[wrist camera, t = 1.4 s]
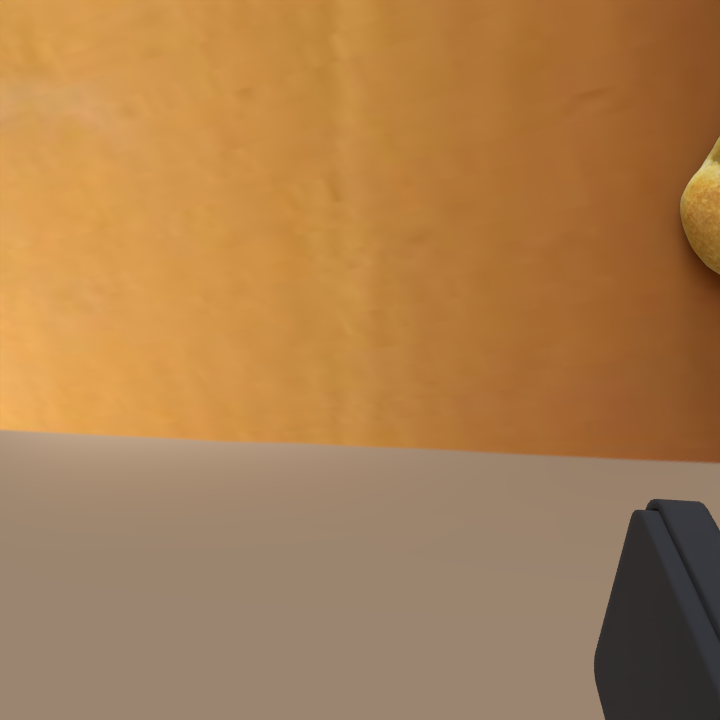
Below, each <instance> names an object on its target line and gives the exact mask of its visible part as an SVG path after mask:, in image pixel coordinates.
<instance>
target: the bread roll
mask: <svg viewBox="0 0 720 720" xmlns="http://www.w3.org/2000/svg"><path fill="white" fill-rule="evenodd" d="M680 215H681V221H682V225H683V228H684V231H685V233H686V236H687V238H688V241H689V243H690V245H691V247H692V248H693V250H694V251H695V253H696V254H697V255H698V256H699V258H700V259H701V260H702V261H703V262H704V264H705V265H706V266H708V267H709V268H710V269H712V270H713V271H715V272H717V273H718V274H720V136H719V138H718V140H717V141H716V143H715V145H714V147H713V149H712V151H711V152H710V154H709V155H708V157H707V158H706V160H705V162H704V163H703V165H702V167H701V168H700V169H699V170H698V171H697V172H696V173H695V175H694V176H693V178H692V179H691V180H690V182H689V183H688V185H687V187H686V189H685V191H684V193H683V195H682V198H681V201H680Z"/></svg>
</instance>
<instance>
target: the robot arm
mask: <svg viewBox="0 0 720 720" xmlns="http://www.w3.org/2000/svg"><path fill="white" fill-rule="evenodd" d="M594 673H595V681H596V686H597V689H598V693H599V697H600V701H601V705H602V709H603V713H604V716H605V720H720V530H719V529H718V527H717V525H716V523H715V521H714V520H713V518H712V516H711V515H710V513H709V511H708V509H707V508H706V507H705V505H704V504H702V503H700V502H696V501H678V500H663V499H653V500H651V501H650V502H649V503H648V505H647V507H646V510H636V511H634V512H633V514H632V516H631V519H630V523H629V527H628V531H627V534H626V538H625V542H624V546H623V550H622V554H621V557H620V561H619V565H618V568H617V572H616V576H615V580H614V584H613V588H612V591H611V595H610V599H609V603H608V607H607V610H606V614H605V618H604V622H603V626H602V629H601V633H600V637H599V641H598V644H597V648H596V652H595V659H594Z"/></svg>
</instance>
